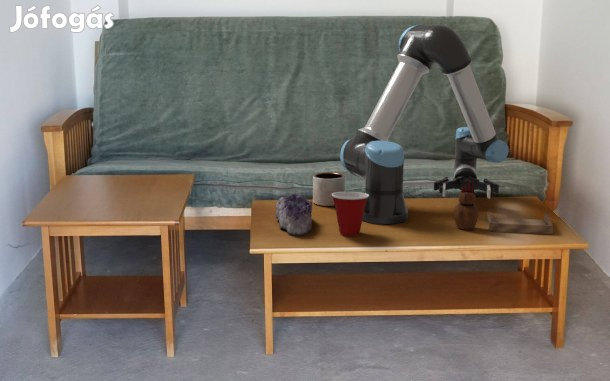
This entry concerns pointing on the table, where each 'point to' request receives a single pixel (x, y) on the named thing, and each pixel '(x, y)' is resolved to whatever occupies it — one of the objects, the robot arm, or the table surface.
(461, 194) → the wooden figurine
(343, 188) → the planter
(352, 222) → the plastic cup
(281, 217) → the geode
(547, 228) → the tray
